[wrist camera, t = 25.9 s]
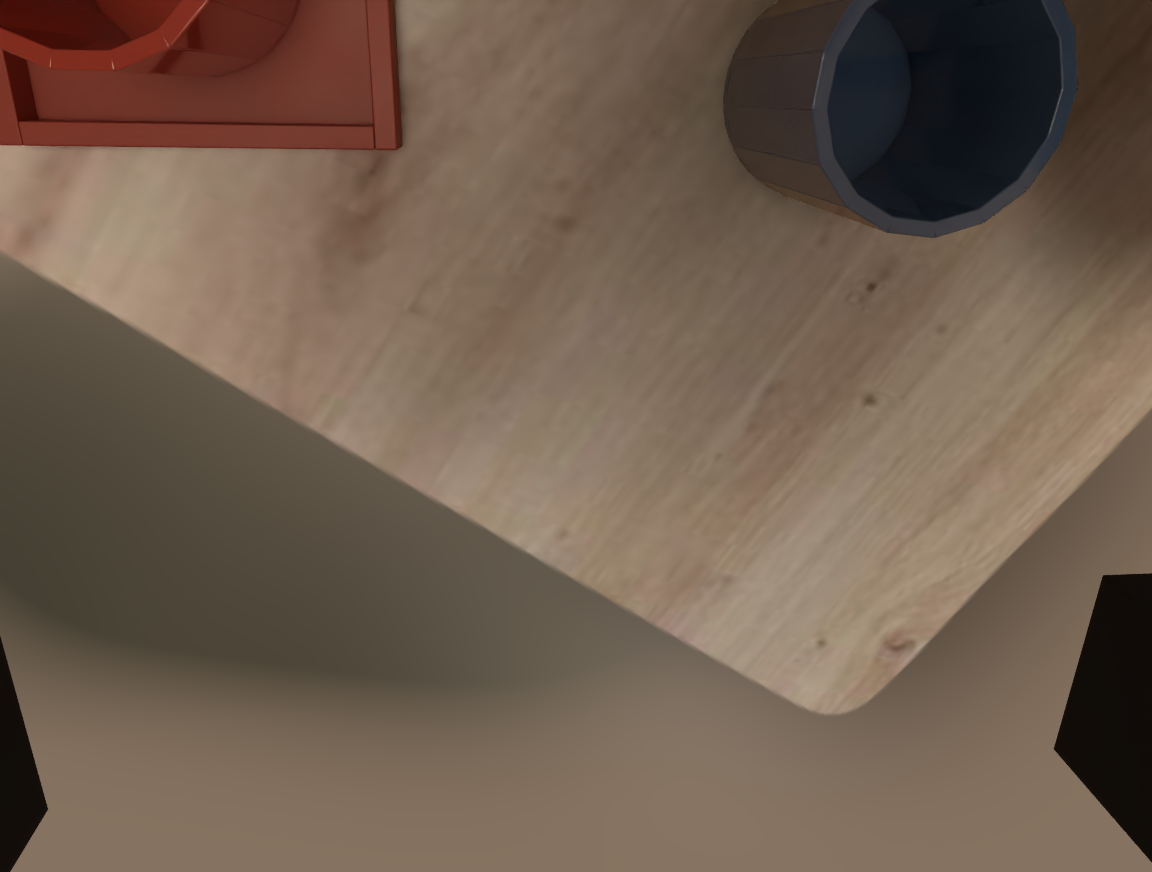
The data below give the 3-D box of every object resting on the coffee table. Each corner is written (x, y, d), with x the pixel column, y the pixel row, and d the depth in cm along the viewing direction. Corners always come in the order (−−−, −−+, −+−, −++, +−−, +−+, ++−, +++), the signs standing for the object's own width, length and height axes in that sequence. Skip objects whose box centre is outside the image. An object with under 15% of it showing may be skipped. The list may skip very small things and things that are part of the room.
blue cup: (903, -42, 32) (1071, -95, 23) (926, 167, 35) (1083, 193, 26) (704, 18, 32) (791, -10, 23) (743, 221, 35) (835, 268, 26)
